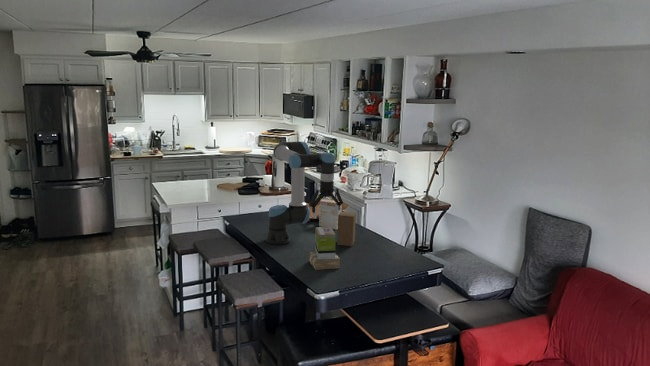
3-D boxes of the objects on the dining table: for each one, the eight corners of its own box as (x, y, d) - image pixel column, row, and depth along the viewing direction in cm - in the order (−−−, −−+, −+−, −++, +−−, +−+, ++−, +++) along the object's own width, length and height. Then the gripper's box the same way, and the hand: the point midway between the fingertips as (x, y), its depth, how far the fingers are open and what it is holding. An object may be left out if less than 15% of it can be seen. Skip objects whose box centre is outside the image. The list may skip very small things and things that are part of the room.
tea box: (314, 251, 294) (314, 226, 291) (331, 250, 295) (332, 226, 292) (317, 259, 279) (318, 234, 276) (335, 259, 280) (336, 233, 278)
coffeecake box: (341, 227, 363) (342, 201, 359) (336, 229, 357) (337, 203, 353) (323, 224, 370) (324, 198, 367) (318, 226, 364) (319, 200, 361)
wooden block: (352, 246, 321) (353, 216, 317) (337, 245, 323) (338, 215, 319) (354, 241, 331) (355, 212, 327) (339, 240, 333) (340, 211, 329)
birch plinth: (309, 262, 293) (309, 252, 291) (332, 260, 296) (332, 250, 295) (315, 270, 279) (315, 260, 278) (339, 268, 283) (339, 258, 282)
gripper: (309, 183, 272) (308, 220, 276) (349, 180, 282) (348, 216, 287) (303, 180, 278) (302, 217, 283) (343, 177, 289) (342, 213, 293)
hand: (325, 217), depth 285 cm, fingers open, 13 cm apart
